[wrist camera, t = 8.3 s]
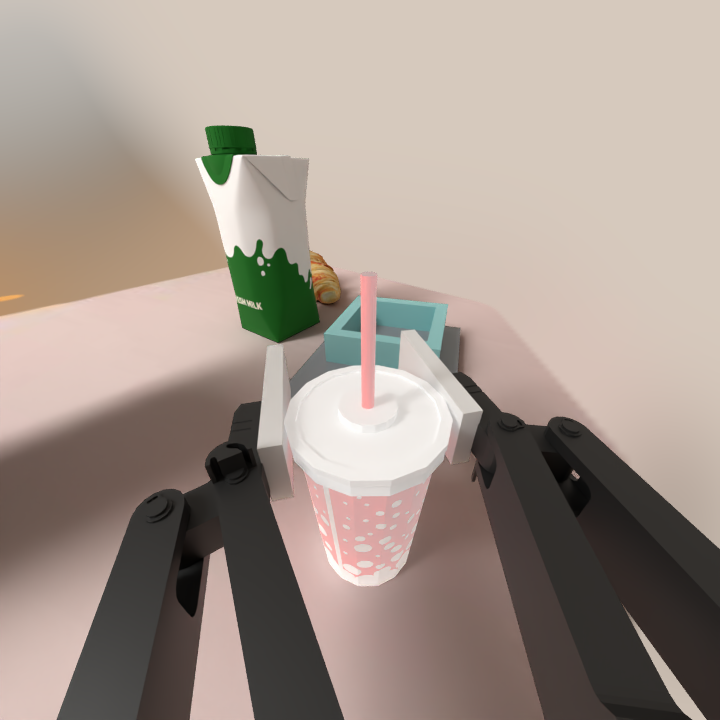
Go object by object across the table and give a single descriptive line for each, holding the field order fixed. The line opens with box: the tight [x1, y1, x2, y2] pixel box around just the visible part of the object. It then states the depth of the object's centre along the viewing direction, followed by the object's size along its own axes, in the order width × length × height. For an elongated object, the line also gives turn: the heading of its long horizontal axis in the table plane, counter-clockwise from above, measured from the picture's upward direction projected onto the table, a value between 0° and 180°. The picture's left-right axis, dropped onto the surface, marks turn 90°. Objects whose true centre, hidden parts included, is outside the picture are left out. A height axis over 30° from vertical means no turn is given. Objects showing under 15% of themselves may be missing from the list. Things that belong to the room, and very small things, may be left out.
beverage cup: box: [284, 272, 453, 586], centre depth 12 cm, size 6×6×14 cm
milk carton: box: [195, 126, 320, 343], centre depth 33 cm, size 9×9×20 cm
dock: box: [289, 295, 460, 399], centre depth 28 cm, size 18×14×4 cm
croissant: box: [309, 250, 341, 303], centre depth 49 cm, size 21×10×8 cm, turn 38°
